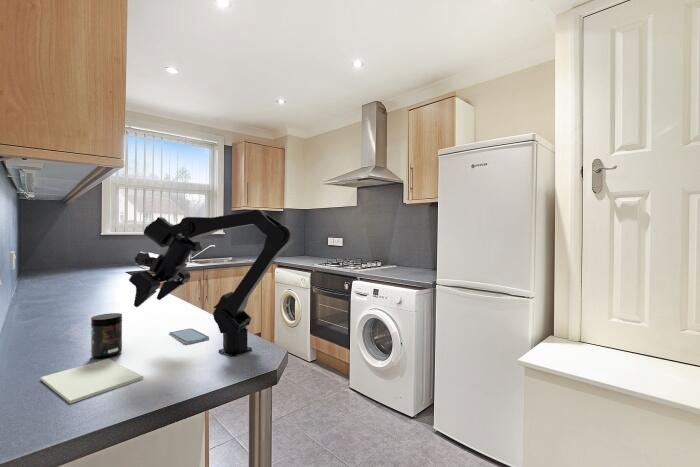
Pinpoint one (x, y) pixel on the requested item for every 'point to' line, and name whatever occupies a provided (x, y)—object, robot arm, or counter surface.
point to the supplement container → (106, 335)
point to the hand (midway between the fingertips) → (147, 302)
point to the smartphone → (189, 336)
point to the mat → (90, 380)
